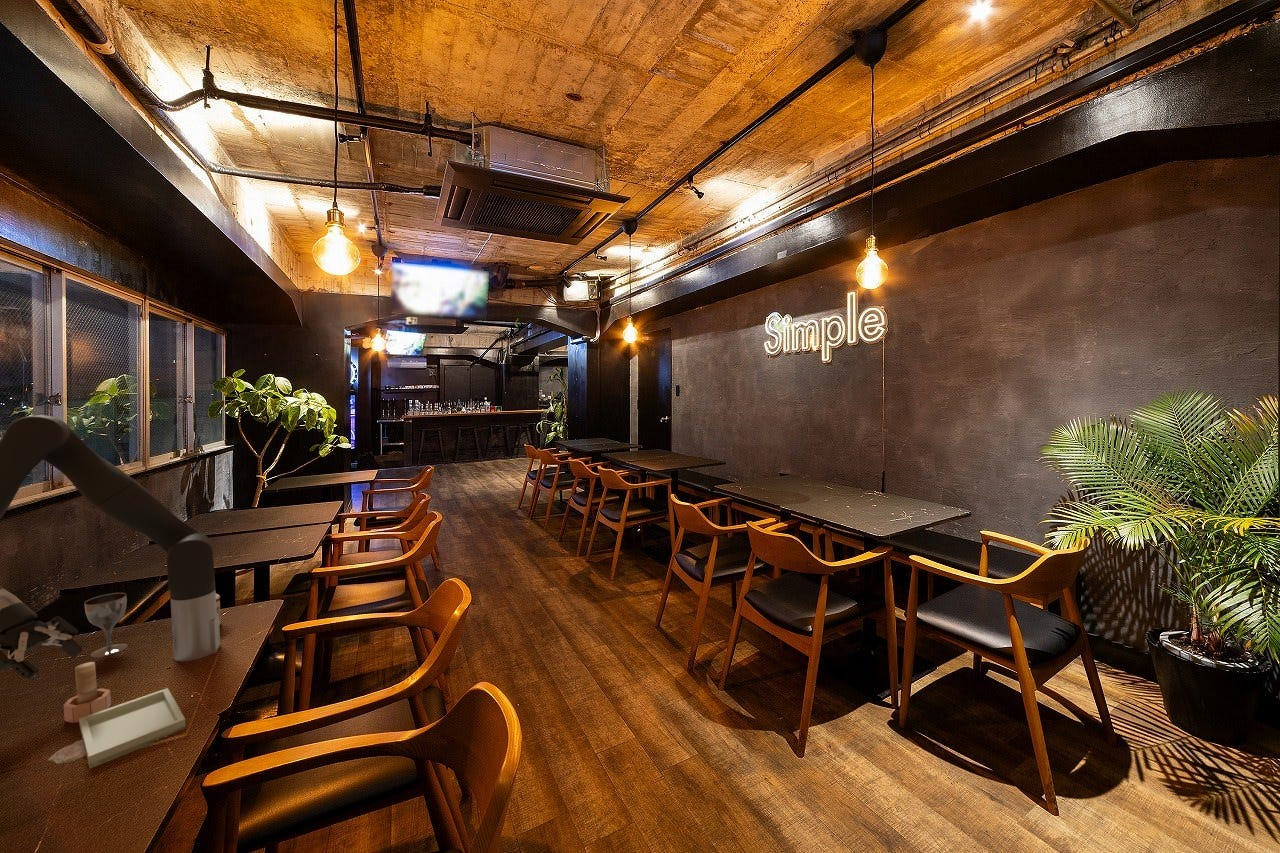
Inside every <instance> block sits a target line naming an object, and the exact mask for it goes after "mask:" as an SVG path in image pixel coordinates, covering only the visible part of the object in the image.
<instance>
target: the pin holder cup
mask: <svg viewBox="0 0 1280 853" xmlns="http://www.w3.org/2000/svg"><path fill="white" fill-rule="evenodd" d="M97 697H98V698H97V699H95V700H93V701H91V702H88V703H84V704H79V705H78V703H77V695H75V696H73V697H71V698H69V699H67V701H66V702H65V703H64V704H63V715H64V716H63V717H64V722H67V723H72V724H73V723H74V724H75V723H79V718H82V717H85V716H88V715H91V714H93V713H96V712H99V711H102V710H105V709H108V708H111V707H112V699H111V698H112V696H111V690H110V689H107V688H97Z"/></svg>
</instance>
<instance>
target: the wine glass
mask: <svg viewBox="0 0 1280 853" xmlns="http://www.w3.org/2000/svg"><path fill="white" fill-rule="evenodd" d="M127 603H128V599H127V593H125V592H112V593H106V594H102V595H98V596H95V597H92V598H90V599H89V598H88V599H87V600H85V601H84V610H85V615H86V617H87V620H88V622H89V623H90V624H92V625H93V626H95V627H98V628H100V629H101V630H102V631H103V632H104V634H105V638H106V646H104V647H100V648H99V649H97V650H94V651H93V652H91V654H90V657H92V658H103V657H108V656H111V655H115V654H119V653H120V652H122V651H124V650H126V649H127V648H128V647H129V644H127V643H115V644H112V631H113V628H114V627H115V625H116V624H117V623H118V622H119V621H120V620H121V619H122V618H123V616H125V613H126V610H127Z"/></svg>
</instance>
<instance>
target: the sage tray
mask: <svg viewBox="0 0 1280 853" xmlns="http://www.w3.org/2000/svg"><path fill="white" fill-rule="evenodd" d="M78 723H79V730H80V734H81V739H83V742H84V746H85V750H86V755H85V756H86V758H87V764H88V767H89V769H93V768H95V767H98V766H100V765H103V764H105V763H107V762H110V761H112V760H115V759H118V758H120V757H123V756H126V755H127V754H130V753H132V752H135V751H138V750H140V749H143V748H146V747H148V746H149V745H152V744H154V743H157V742H160V741H162V740H164V738H165V737H168V736H170V735H172V734H175V733H177V732H180V731H183V730H185V729H187V728H186V727H187V726H186V718H185V717H184V714H183V713H182V711H181V708H180V707H179V705H178V703H177V701H176V700H175V698H174V696H173V695H172V692H171V691H170V689H169V687H166V688H163V689H161V690H158V691H155V692H152V693H148V694H146V695H144V696H141V697H138V698H135V699H132V700H128V701H125V702H123V703H120V704H117V705H114V706H110V708H108V709H105V710H102V711H99V712H96V713H93V714H91V715H88V716H85V717H82V718H79V722H78ZM162 738H163V739H162Z"/></svg>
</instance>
